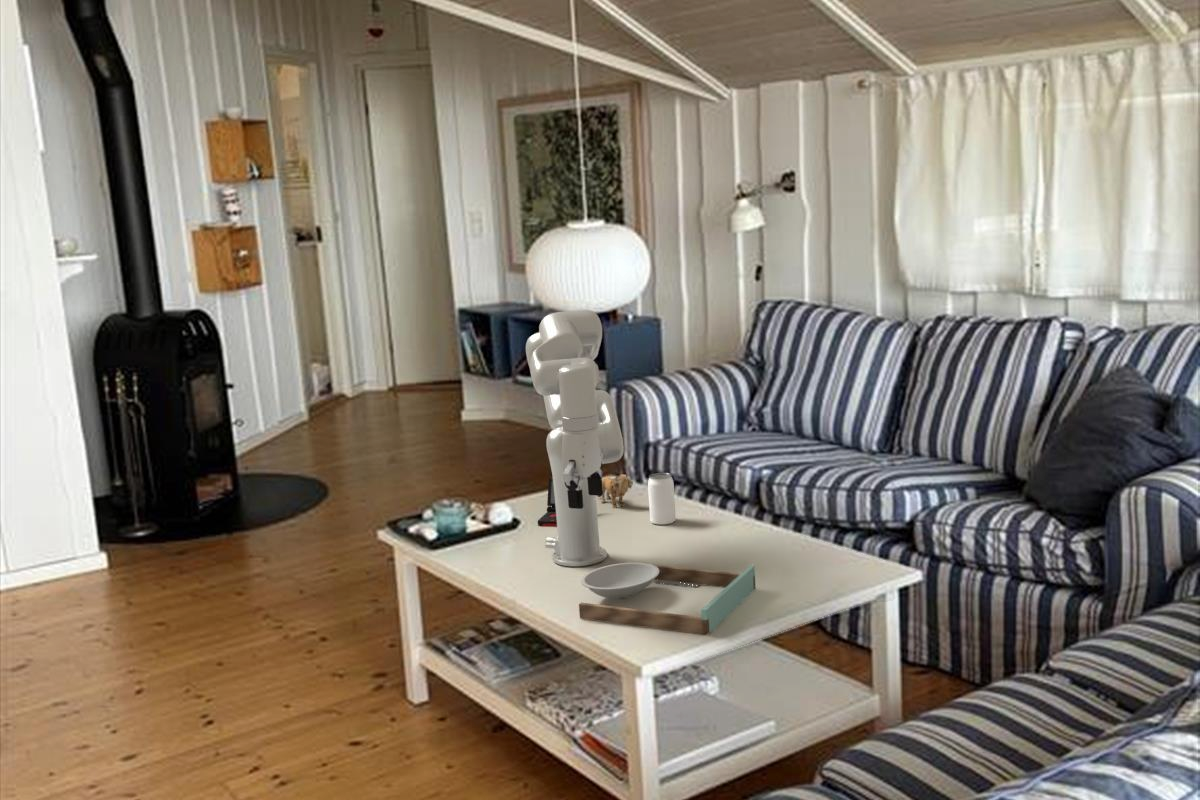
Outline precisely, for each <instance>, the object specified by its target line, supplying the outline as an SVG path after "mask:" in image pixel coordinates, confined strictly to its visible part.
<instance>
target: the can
mask: <svg viewBox="0 0 1200 800" xmlns="http://www.w3.org/2000/svg"><path fill="white" fill-rule="evenodd" d="M648 477H649V478H648V481H647V489H648V490H647V492H648V507H649V520H650V522H651V524H652V523H653V525H655V524H656V525H655V526H667V524H668V525H671V524H670V523H672V524H674V523H675V522H676V520H677V519H676V518H677V517H676V514H677V513H676V501H675V500H676V499H675V498H676V497H675V487H674V486H675V485H674V480H673V477H672V474H671V473H670V472H669V473H668V472H657V473H651V474H650V475H649V476H648ZM674 521H675V522H674ZM673 522H674V523H673Z"/></svg>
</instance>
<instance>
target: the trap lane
mask: <svg viewBox="0 0 1200 800" xmlns="http://www.w3.org/2000/svg"><path fill="white" fill-rule="evenodd" d="M650 564H651V563H650ZM651 565H654V566H656V567H657V568H658V569H659V575H658V576H657V577H656V578H655V579H658V580H655V579H654V580H655V582H656V583H655V584H660V583H662V585H669V584H673V585H672V586H678V585H682V586H681V587H687V586H691V587H690V588H696V587H698V586H699V585H700V584H705V585H704V586H710V585H712V587H719V586H722V587H721V588H724V589H722V590H721V591H720V592H719V593H718V594H717V595H716V596H714V598H712V599H711V600H709V602H708V603H707V604H706V605H704V606H703V607H702V608H701V610H700V612H701V613H700V614H701V616H694V615H685V614H677V613H670V612H669V613H668V612H661V611H654V610H653V611H652V610H645V609H636V608H628V607H622V606H612V605H606V604H605V605H604V604H597V603H596V604H595V603H589V602H580V603H578V611H579V619H583V620H592V621H600V622H607V623H614V624H620V625H621V624H623V625H630V626H638V627H644V626H645V628H652V627H653V628H652V629H660V628H661V630H668V631H669V630H670V631H677V632H682V631H683V632H684V633H685V632H686V633H691V632H692V634H698V633H700V634H701V635H706V634H708V633H709V634H710V633H711V632H712V631H713V630H714V629H715V628H717V626H718V625H719V624H720V623H722V622H723V620H724V619H726V618H727V617H726V616H729V615H730V614H731V613H732V612H733V611H734V610H735V609H736V608H737V607H738V606H740V604H742V602H743V601H744V600H745V599H746V598H748V597H749V595H751V594H752V593H753V592H754V591H755V590H756V574H755V573H756V571H755V565H749V566H748V567H747V568H745V570H743V571H742V572H741V573H739V572H727V571H717V570H709V569H699V568H690V567H679V566H669V565H659V564H651ZM680 582H681V583H680ZM663 583H664V584H663ZM684 583H685V584H684ZM688 584H689V585H688ZM692 584H693V587H692ZM683 585H684V586H683ZM696 585H697V586H696ZM713 585H714V586H713ZM700 586H701V585H700ZM700 586H699V587H700ZM699 587H698V588H699ZM709 634H708V635H709Z"/></svg>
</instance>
